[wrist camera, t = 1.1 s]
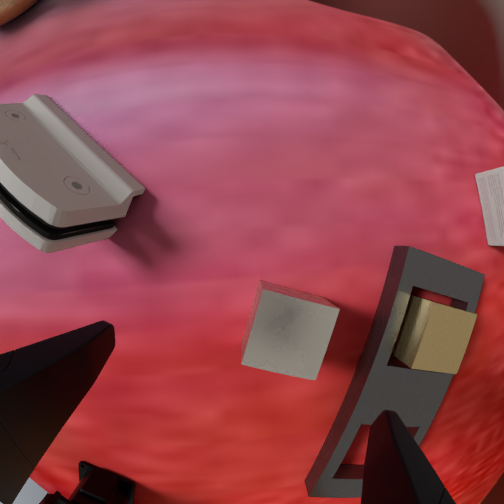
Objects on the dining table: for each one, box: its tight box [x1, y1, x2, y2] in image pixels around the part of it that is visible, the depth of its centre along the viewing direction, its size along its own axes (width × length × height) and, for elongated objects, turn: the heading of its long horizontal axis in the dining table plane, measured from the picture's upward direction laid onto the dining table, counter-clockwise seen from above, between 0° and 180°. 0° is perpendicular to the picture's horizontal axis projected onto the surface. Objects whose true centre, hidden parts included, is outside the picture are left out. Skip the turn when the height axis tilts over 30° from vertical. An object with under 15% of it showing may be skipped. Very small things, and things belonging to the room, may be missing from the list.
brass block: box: [391, 295, 477, 374], centre depth 22 cm, size 5×5×5 cm
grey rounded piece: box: [0, 94, 146, 253], centre depth 19 cm, size 17×5×10 cm, turn 49°
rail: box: [305, 246, 484, 498], centre depth 23 cm, size 24×9×2 cm, turn 164°
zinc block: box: [241, 280, 340, 380], centre depth 21 cm, size 5×5×5 cm
